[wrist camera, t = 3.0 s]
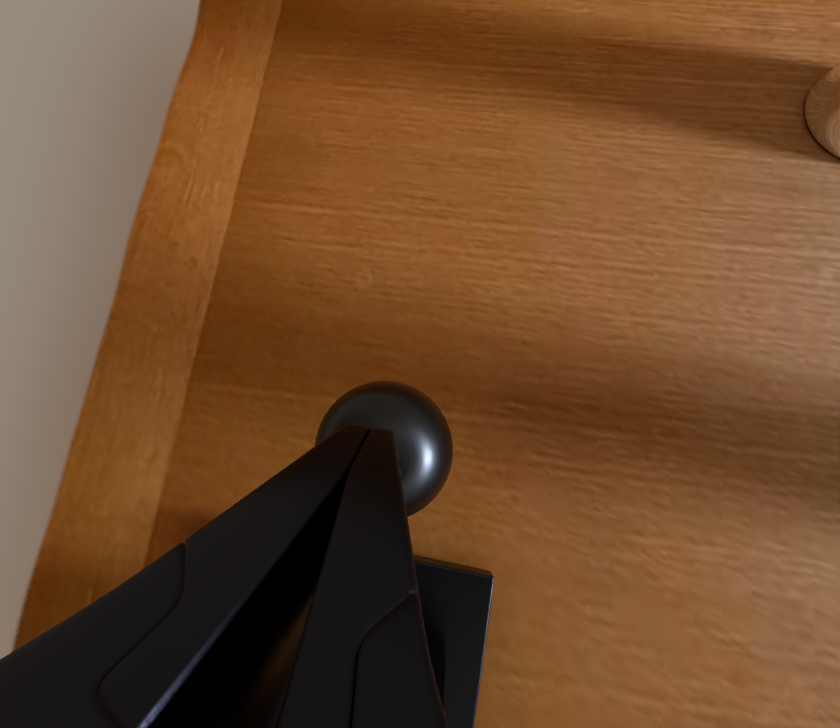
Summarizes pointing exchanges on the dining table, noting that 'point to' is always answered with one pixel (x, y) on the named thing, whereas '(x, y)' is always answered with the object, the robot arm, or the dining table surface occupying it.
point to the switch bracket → (454, 632)
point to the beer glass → (825, 111)
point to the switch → (400, 434)
